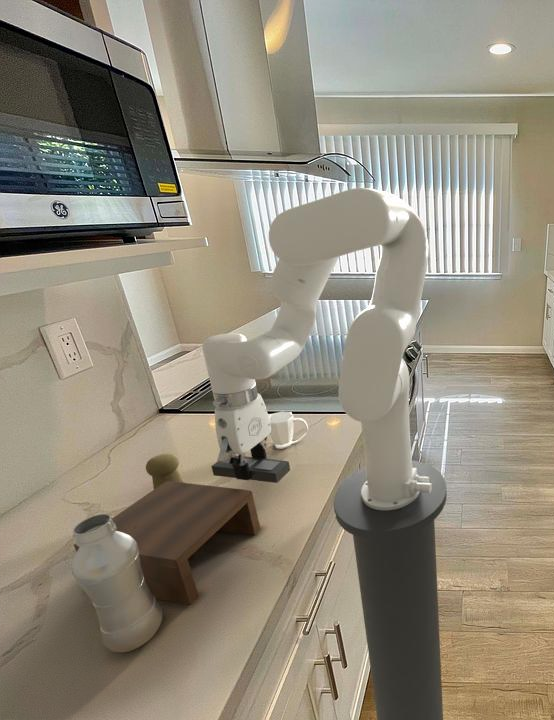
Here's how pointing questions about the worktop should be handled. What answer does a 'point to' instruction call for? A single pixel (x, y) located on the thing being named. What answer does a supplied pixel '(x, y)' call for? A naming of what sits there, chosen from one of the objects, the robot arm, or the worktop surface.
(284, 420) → the cup
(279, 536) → the worktop surface
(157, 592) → the shelf
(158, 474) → the cork
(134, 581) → the plastic bottle
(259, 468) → the remote
